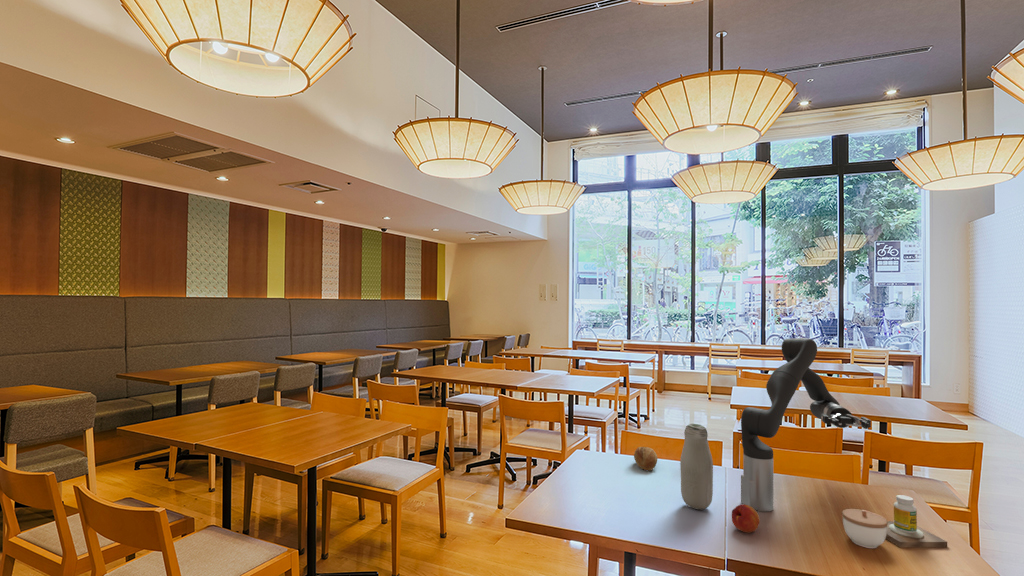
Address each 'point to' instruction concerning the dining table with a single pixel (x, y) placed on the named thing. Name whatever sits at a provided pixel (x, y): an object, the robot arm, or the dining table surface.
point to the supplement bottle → (905, 514)
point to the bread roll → (645, 458)
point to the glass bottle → (696, 468)
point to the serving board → (913, 538)
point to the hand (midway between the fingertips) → (852, 424)
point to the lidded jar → (865, 527)
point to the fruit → (745, 518)
